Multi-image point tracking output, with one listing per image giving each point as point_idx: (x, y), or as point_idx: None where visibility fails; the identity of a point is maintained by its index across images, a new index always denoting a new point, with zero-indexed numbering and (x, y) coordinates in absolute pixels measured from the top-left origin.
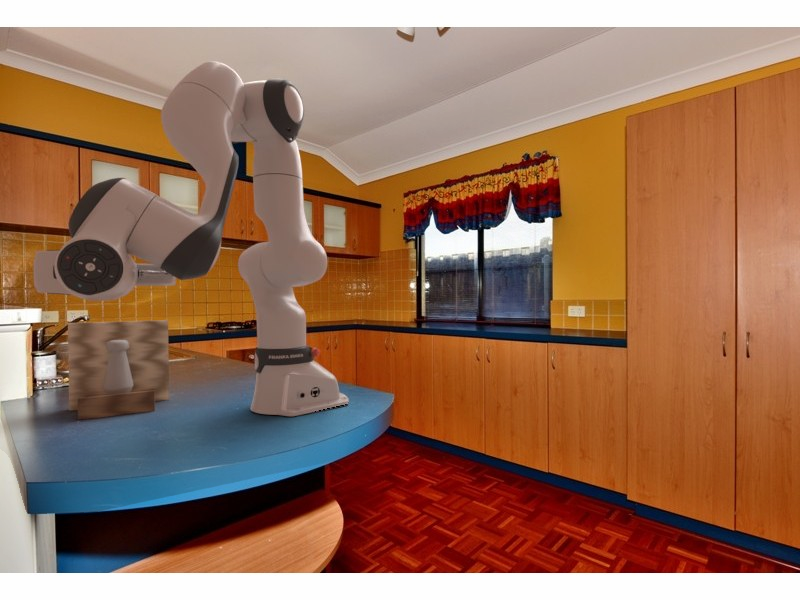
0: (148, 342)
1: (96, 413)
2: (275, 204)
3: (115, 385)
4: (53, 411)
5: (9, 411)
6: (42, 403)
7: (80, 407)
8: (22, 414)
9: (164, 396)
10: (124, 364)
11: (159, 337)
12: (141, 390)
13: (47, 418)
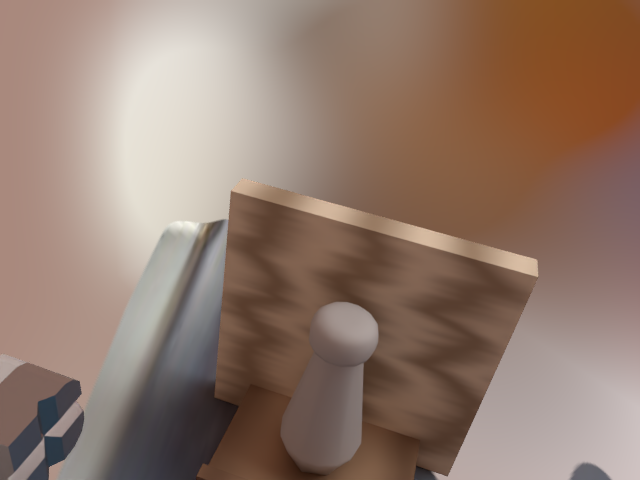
0: (444, 321)
1: None
2: None
3: (307, 453)
4: (188, 375)
5: (130, 309)
6: (199, 292)
7: None
8: (135, 352)
9: (437, 465)
10: (347, 403)
11: (484, 319)
12: (383, 428)
13: (153, 431)
